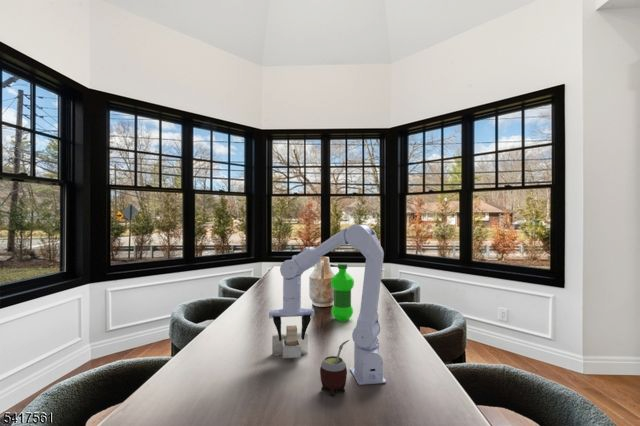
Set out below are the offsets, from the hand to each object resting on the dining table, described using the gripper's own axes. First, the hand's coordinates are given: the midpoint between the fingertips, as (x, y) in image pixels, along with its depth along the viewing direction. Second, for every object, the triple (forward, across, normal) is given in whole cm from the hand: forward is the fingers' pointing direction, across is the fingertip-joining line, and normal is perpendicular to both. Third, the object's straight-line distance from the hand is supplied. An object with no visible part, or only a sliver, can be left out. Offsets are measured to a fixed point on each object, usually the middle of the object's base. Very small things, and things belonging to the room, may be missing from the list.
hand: (291, 339), depth 103 cm
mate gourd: (+7, -10, +20) cm, 23 cm away
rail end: (+4, 0, 0) cm, 4 cm away
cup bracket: (+7, 0, -1) cm, 7 cm away
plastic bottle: (+7, -26, -38) cm, 47 cm away
